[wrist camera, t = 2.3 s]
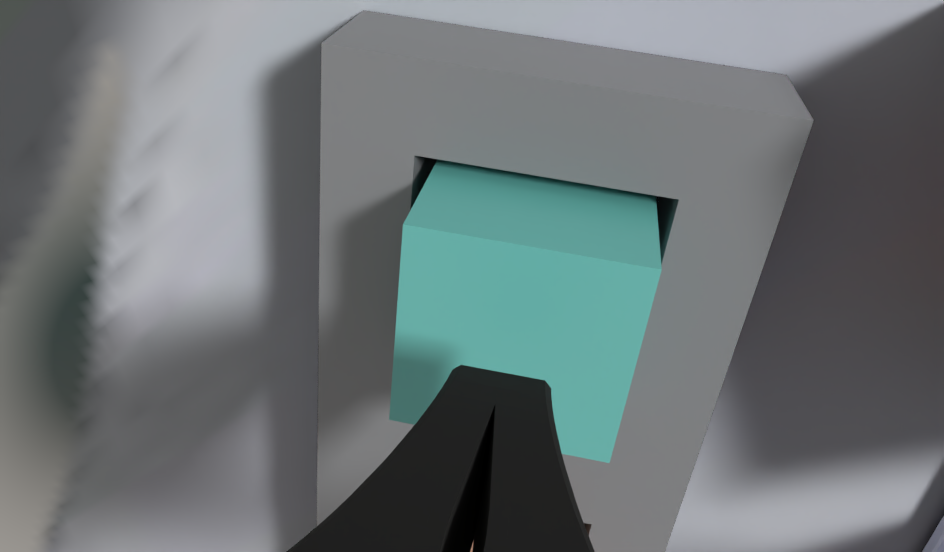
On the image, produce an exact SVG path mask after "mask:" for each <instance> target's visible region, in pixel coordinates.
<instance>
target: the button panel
mask: <svg viewBox="0 0 944 552" xmlns="http://www.w3.org/2000/svg"><path fill="white" fill-rule="evenodd" d="M813 122H814V120H813V118H812V116H811V115H810V113H809V111H808V110H807V108H806V106H805V105H804V103H803V101H802V100H801V98H800V96H799V95H798V93H797V91H796V90H795V88H794V86H793V85H792V83H791V81H790V80H789V78H788V76H787V75H784V74H777V73H771V72H764V71H758V70H751V69H745V68H738V67H731V66H725V65H718V64H712V63H705V62H699V61H692V60H686V59H679V58H672V57H666V56H659V55H653V54H646V53H640V52H633V51H626V50H620V49H613V48H607V47H600V46H594V45H587V44H581V43H574V42H567V41H561V40H554V39H548V38H541V37H535V36H528V35H522V34H515V33H508V32H502V31H495V30H489V29H482V28H476V27H469V26H463V25H456V24H449V23H443V22H436V21H430V20H423V19H417V18H410V17H403V16H397V15H390V14H384V13H377V12H371V11H364V10H363V11H362V12H361V13H360V14H358V15H357V16H356V17H354V18H353V19H352V20H351V21H349V22H348V23H347V24H345V25H344V26H343V27H342V28H340V29H339V30H338V31H336V32H335V33H334V34H333V35H331V36H330V37H329V38H327V39H326V40H325V41H324V42H322V43H321V128H320V227H319V327H318V426H317V526H318V525H319V524H320V523H321V522H323V521H324V520H325V519H326V518H327V517H328V516H329V515H330V514H331V513H333V512H334V511H335V510H336V509H337V508H338V507H339V506H340V505H341V504H342V503H343V502H344V501H345V500H346V499H347V498H348V497H349V496H350V495H351V494H352V493H353V492H354V491H355V490H356V489H357V488H358V487H359V486H360V485H361V484H362V483H363V482H364V481H365V480H366V479H367V478H368V477H369V476H370V475H371V474H372V473H373V472H374V471H375V470H376V469H377V468H378V466H379V465H380V464H381V463H382V462H383V461H384V460H385V459H386V458H387V457H388V456H389V455H390V454H391V452H392V451H393V450H394V449H395V448H396V446H397V445H398V444H399V443H400V442H401V440H402V439H403V438H404V437H405V436H406V435H407V433H408V432H409V431H410V430H411V429H412V427H413V426H414V425H413V424H408V423H403V422H398V421H393V420H389V414H390V400H391V386H392V372H393V358H394V343H395V329H396V315H397V301H398V287H399V273H400V259H401V245H402V231H403V223H404V222H405V220H406V218H407V216H408V214H409V212H410V210H411V208H412V207H413V205H414V203H415V201H416V199H417V197H418V195H419V193H420V191H421V190H422V188H423V186H424V184H425V182H426V180H427V178H428V176H429V175H430V173H431V171H432V169H433V167H434V165H435V163H436V161H437V160H438V159H439V160H445V161H451V162H457V163H463V164H469V165H475V166H481V167H487V168H493V169H499V170H505V171H511V172H517V173H523V174H529V175H535V176H541V177H547V178H553V179H559V180H565V181H571V182H577V183H583V184H589V185H595V186H600V187H606V188H612V189H618V190H624V191H630V192H636V193H642V194H648V195H654V196H659V199H658V203H657V216H658V229H659V241H660V254H661V267H662V270H661V274H660V278H659V282H658V285H657V289H656V293H655V296H654V300H653V304H652V308H651V311H650V315H649V319H648V322H647V326H646V330H645V333H644V337H643V341H642V345H641V348H640V352H639V356H638V359H637V363H636V367H635V371H634V374H633V378H632V382H631V385H630V389H629V393H628V397H627V400H626V404H625V408H624V411H623V415H622V419H621V422H620V426H619V430H618V434H617V437H616V441H615V445H614V448H613V452H612V456H611V460H610V463H606V462H601V461H596V460H591V459H586V458H581V457H576V456H571V455H566V454H562V456H563V460H564V464H565V467H566V471H567V474H568V477H569V480H570V484H571V487H572V490H573V493H574V497H575V500H576V503H577V506H578V509H579V511H580V514H581V517H582V520H583V523H584V525H585V528H586V530H587V533H588V536H589V538H590V541H591V543H592V546H593V549H594V551H595V552H665V550H666V547H667V544H668V541H669V538H670V535H671V532H672V529H673V526H674V524H675V521H676V518H677V515H678V512H679V509H680V506H681V503H682V500H683V497H684V495H685V492H686V489H687V486H688V483H689V480H690V477H691V474H692V471H693V469H694V466H695V463H696V460H697V457H698V454H699V451H700V448H701V445H702V443H703V440H704V437H705V434H706V431H707V428H708V425H709V422H710V419H711V417H712V414H713V411H714V408H715V405H716V402H717V399H718V396H719V393H720V391H721V388H722V385H723V382H724V379H725V376H726V373H727V370H728V367H729V364H730V362H731V359H732V356H733V353H734V350H735V347H736V344H737V341H738V338H739V336H740V333H741V330H742V327H743V324H744V321H745V318H746V315H747V312H748V310H749V307H750V304H751V301H752V298H753V295H754V292H755V289H756V286H757V284H758V281H759V278H760V275H761V272H762V269H763V266H764V263H765V260H766V257H767V255H768V252H769V249H770V246H771V243H772V240H773V237H774V234H775V231H776V229H777V226H778V223H779V220H780V217H781V214H782V211H783V208H784V205H785V203H786V200H787V197H788V194H789V191H790V188H791V185H792V182H793V179H794V177H795V174H796V171H797V168H798V165H799V162H800V159H801V156H802V153H803V151H804V148H805V145H806V142H807V139H808V136H809V133H810V130H811V127H812V124H813ZM317 526H316V527H317Z"/></svg>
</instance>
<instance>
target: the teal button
mask: <svg viewBox="0 0 944 552" xmlns="http://www.w3.org/2000/svg"><path fill="white" fill-rule="evenodd" d="M661 270H662V267H661V254H660V241H659V229H658V216H657V203H656V196H654V195H648V194H642V193H636V192H630V191H624V190H618V189H612V188H606V187H600V186H595V185H589V184H583V183H577V182H571V181H565V180H559V179H553V178H547V177H541V176H535V175H529V174H523V173H517V172H511V171H505V170H499V169H493V168H487V167H481V166H475V165H469V164H463V163H457V162H451V161H445V160H439V159H438V160H437V161H436V163H435V165H434V167H433V169H432V171H431V173H430V175H429V176H428V178H427V180H426V182H425V184H424V186H423V188H422V190H421V191H420V193H419V195H418V197H417V199H416V201H415V203H414V205H413V207H412V208H411V210H410V212H409V214H408V216H407V218H406V220H405V222H404V223H403V231H402V245H401V259H400V273H399V287H398V301H397V315H396V329H395V343H394V358H393V372H392V386H391V400H390V414H389V420H393V421H398V422H403V423H408V424H413V425H415V424H416V423H417V421H418V420H419V419H420V417H421V416H422V415H423V413H424V412H425V411H426V410H427V408H428V407H429V406H430V404H431V403H432V401H433V400H434V399H435V397H436V396H437V394H438V393H439V391H440V390H441V388H442V387H443V385H444V384H445V382H446V380H447V379H448V377H449V375H450V373H451V371H452V370H453V369H454V368H456V367H458V366H460V365H465V366H471V367H476V368H481V369H487V370H492V371H498V372H503V373H508V374H514V375H519V376H524V377H530V378H535V379H540V380H545V381H546V382H547V383H548V385H549V386H550V387H551V397H552V407H553V415H554V421H555V426H556V431H557V435H558V440H559V444H560V449H561V453H562V454H566V455H571V456H576V457H581V458H586V459H591V460H596V461H601V462H606V463H610V460H611V456H612V452H613V448H614V445H615V441H616V437H617V434H618V430H619V426H620V422H621V419H622V415H623V411H624V408H625V404H626V400H627V397H628V393H629V389H630V385H631V382H632V378H633V374H634V371H635V367H636V363H637V359H638V356H639V352H640V348H641V345H642V341H643V337H644V333H645V330H646V326H647V322H648V319H649V315H650V311H651V308H652V304H653V300H654V296H655V293H656V289H657V285H658V282H659V278H660V274H661Z"/></svg>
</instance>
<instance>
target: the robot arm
mask: <svg viewBox="0 0 944 552" xmlns="http://www.w3.org/2000/svg"><path fill="white" fill-rule="evenodd" d="M472 543H473V551H472V552H595V551H594V549H593V546H592V543H591V541H590V538H589V536H588V533H587V530H586V528H585V525H584V523H583V520H582V517H581V514H580V511H579V509H578V506H577V503H576V500H575V497H574V493H573V490H572V487H571V484H570V480H569V477H568V474H567V471H566V467H565V464H564V460H563V456H562V453H561V449H560V444H559V440H558V435H557V431H556V426H555V421H554V415H553V407H552V397H551V387H550V386H549V385H548V383H547V382H546V381H545V380H540V379H535V378H530V377H524V376H519V375H514V374H508V373H503V372H498V371H492V370H487V369H481V368H476V367H471V366H465V365H460V366H458V367H456V368H454V369H453V370H452V371H451V373H450V375H449V377H448V379H447V380H446V382H445V384H444V385H443V387H442V388H441V390H440V391H439V393H438V394H437V396H436V397H435V399H434V400H433V401H432V403H431V404H430V406H429V407H428V408H427V410H426V411H425V412H424V413H423V415H422V416H421V417H420V419H419V420H418V421H417V423H416V424H415V425H414V426H413V427H412V429H411V430H410V431H409V432H408V433H407V435H406V436H405V437H404V438H403V439H402V440H401V442H400V443H399V444H398V445H397V446H396V448H395V449H394V450H393V451H392V452H391V454H390V455H389V456H388V457H387V458H386V459H385V460H384V461H383V462H382V463H381V464H380V465H379V466H378V468H377V469H376V470H375V471H374V472H373V473H372V474H371V475H370V476H369V477H368V478H367V479H366V480H365V481H364V482H363V483H362V484H361V485H360V486H359V487H358V488H357V489H356V490H355V491H354V492H353V493H352V494H351V495H350V496H349V497H348V498H347V499H346V500H345V501H344V502H343V503H342V504H341V505H340V506H339V507H338V508H337V509H336V510H335V511H334V512H333V513H331V514H330V515H329V516H328V517H327V518H326V519H325V520H324V521H323V522H321V523H320V524H319V525H318V526H317V527H316V528H315V529H313V530H312V531H311V532H310V533H309V534H308V535H306V536H305V537H304V538H303V539H302V540H301V541H299V542H298V543H297V544H296V545H295V546H293V547H292V548H291V549H289V550H288V551H287V552H470V550H471V547H472ZM922 552H944V516H943V518H942V519H941V521H940V523H939V524H938V526H937V528H936V529H935V531H934V533H933V534H932V536H931V538H930V539H929V541H928V543H927V544H926V546H925V548H924V550H923V551H922Z"/></svg>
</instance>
